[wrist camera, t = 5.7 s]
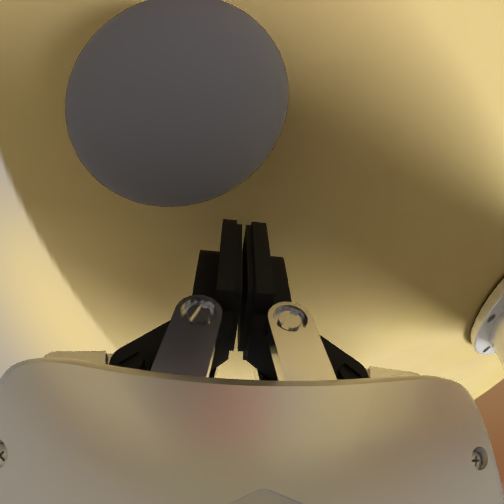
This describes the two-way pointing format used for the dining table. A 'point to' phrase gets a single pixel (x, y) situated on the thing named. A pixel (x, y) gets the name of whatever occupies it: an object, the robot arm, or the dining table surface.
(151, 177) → the grey ball
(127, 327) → the dining table surface
